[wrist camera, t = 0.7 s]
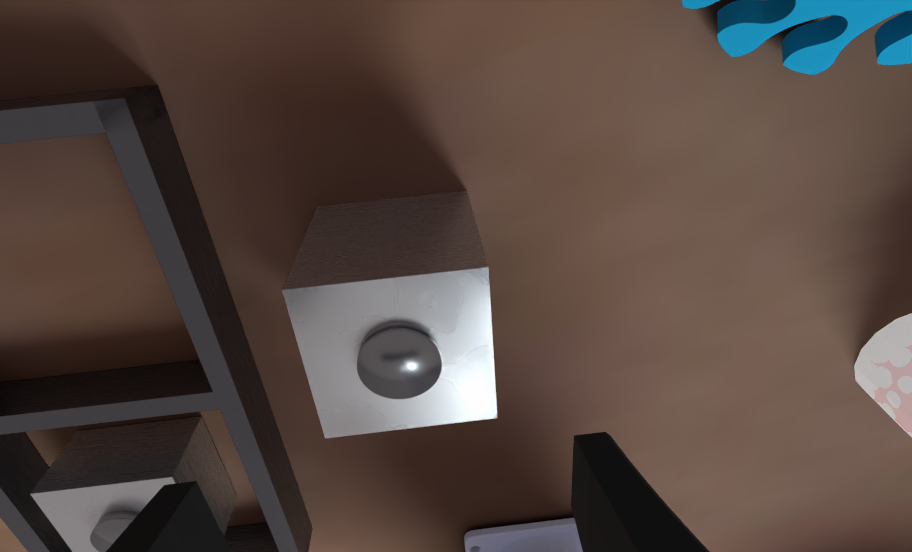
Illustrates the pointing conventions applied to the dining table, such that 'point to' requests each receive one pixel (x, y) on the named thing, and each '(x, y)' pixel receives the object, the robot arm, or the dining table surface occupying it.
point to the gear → (813, 29)
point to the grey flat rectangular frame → (157, 386)
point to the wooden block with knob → (128, 478)
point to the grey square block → (394, 314)
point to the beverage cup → (889, 370)
